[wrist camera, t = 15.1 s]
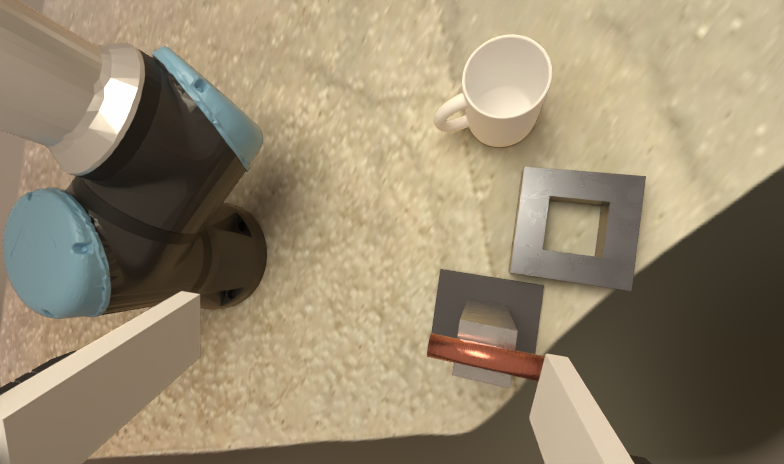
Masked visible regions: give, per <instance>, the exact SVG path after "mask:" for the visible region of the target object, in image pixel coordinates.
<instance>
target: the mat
mask: <svg viewBox="0 0 784 464" xmlns="http://www.w3.org/2000/svg"><path fill="white" fill-rule="evenodd" d="M543 288H544V286H543V285H538V284H532V283H525V282H519V281H513V280H506V279H500V278H494V277H487V276H481V275H475V274H468V273H462V272H456V271H449V270H443V269H440V276H439V283H438V290H437V297H436V305H435V312H434V319H433V326H432V333H433V334H438V335H443V336H448V337H453V338H457V337H458V330H459V322H460V318H461V315H462V313H463V310H464V307H465V305H466V302H467V299H468V298H472V299H478V300H483V301H489V302H495V303H501V304H506V306H507V308H508V310H509V313H510V315H511V317H512V319H513V322H514V324H515V326H516V328H517V331H518V332H517V339H516V347H515V350H516V351H521V352H526V353H531V354H535V348H536V341H537V333H538V326H539V318H540V310H541V303H542V295H543Z"/></svg>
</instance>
